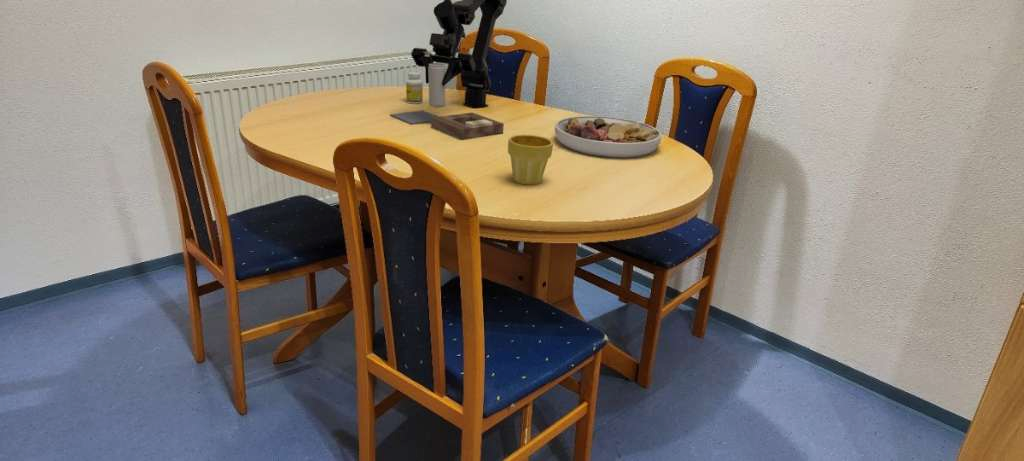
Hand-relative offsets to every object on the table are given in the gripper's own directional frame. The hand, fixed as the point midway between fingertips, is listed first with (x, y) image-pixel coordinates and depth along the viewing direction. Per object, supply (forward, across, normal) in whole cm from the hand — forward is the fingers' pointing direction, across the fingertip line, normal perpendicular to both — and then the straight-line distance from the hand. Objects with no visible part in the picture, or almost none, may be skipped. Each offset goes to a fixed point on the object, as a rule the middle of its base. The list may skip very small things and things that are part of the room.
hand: (434, 83), depth 195 cm
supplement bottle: (-8, -19, +26) cm, 33 cm away
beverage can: (+4, 0, +6) cm, 7 cm away
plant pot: (+33, +40, -16) cm, 55 cm away
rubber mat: (+5, -8, +12) cm, 16 cm away
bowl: (+4, +51, +14) cm, 53 cm away
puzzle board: (+9, +11, +8) cm, 16 cm away
